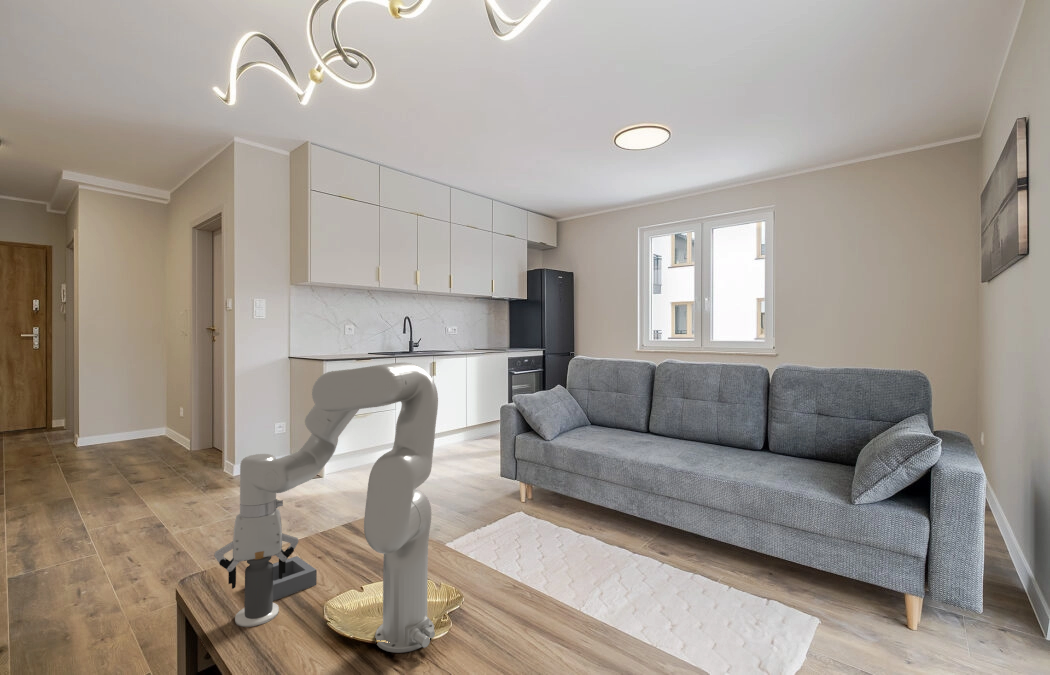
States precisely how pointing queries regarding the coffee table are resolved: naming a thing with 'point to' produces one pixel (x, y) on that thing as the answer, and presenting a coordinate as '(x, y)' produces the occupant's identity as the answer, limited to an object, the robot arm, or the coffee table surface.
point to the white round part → (247, 622)
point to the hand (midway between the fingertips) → (257, 581)
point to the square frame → (293, 577)
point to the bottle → (258, 587)
